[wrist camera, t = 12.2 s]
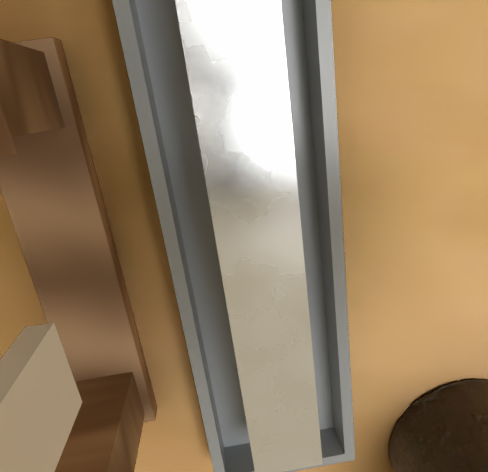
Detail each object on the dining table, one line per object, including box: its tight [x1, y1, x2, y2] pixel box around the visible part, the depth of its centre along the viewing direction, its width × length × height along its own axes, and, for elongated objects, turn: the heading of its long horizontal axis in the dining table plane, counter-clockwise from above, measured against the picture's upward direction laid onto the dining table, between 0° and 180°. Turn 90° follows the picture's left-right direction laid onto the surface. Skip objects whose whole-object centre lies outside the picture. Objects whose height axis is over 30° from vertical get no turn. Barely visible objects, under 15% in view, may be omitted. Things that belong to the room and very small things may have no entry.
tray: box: [112, 0, 355, 472], centre depth 19 cm, size 28×8×2 cm, turn 8°
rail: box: [175, 0, 323, 472], centre depth 19 cm, size 24×4×4 cm, turn 8°
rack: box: [0, 37, 157, 472], centre depth 14 cm, size 20×7×14 cm, turn 8°
